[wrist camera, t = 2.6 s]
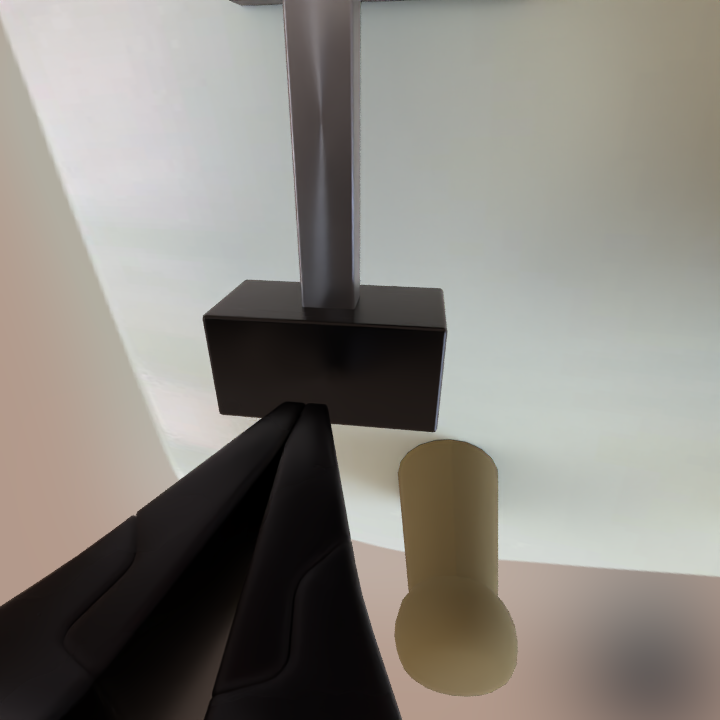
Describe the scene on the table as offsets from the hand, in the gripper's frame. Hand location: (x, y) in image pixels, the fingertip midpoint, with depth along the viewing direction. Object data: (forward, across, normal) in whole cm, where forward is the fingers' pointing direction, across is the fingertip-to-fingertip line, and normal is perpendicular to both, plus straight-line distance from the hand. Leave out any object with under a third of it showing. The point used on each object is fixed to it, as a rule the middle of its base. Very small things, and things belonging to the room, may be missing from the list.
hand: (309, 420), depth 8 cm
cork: (+13, -4, +15) cm, 20 cm away
